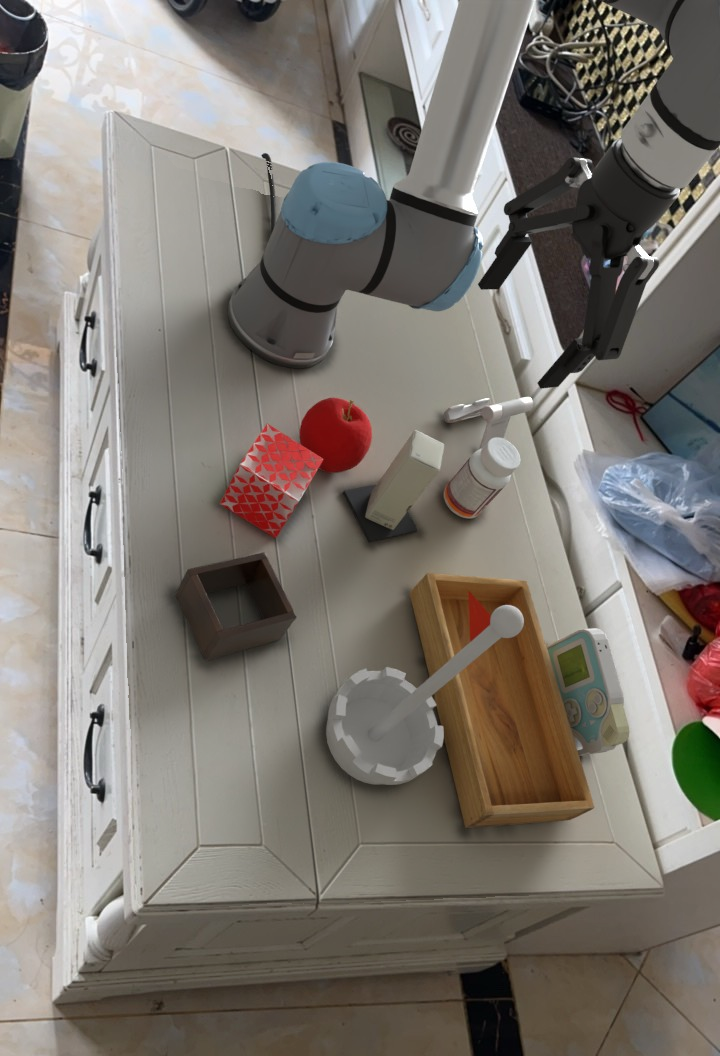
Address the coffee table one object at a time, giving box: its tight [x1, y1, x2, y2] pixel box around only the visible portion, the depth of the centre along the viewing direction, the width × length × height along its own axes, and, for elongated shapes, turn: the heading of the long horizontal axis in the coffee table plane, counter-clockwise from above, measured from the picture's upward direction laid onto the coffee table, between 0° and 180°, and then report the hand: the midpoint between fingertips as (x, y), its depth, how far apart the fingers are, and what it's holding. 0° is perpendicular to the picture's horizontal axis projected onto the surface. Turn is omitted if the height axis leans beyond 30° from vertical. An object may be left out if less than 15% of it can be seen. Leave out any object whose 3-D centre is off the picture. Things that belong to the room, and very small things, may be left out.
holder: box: [174, 551, 297, 662], centre depth 97 cm, size 9×10×6 cm
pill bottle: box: [443, 438, 521, 519], centre depth 120 cm, size 6×6×11 cm
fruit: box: [299, 397, 373, 474], centre depth 113 cm, size 9×9×10 cm
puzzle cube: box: [219, 423, 323, 539], centre depth 106 cm, size 8×8×8 cm
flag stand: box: [325, 590, 524, 786], centre depth 88 cm, size 13×13×30 cm
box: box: [365, 429, 445, 530], centre depth 111 cm, size 5×4×13 cm
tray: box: [409, 572, 596, 829], centre depth 107 cm, size 31×15×6 cm, turn 11°
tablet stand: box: [443, 396, 534, 449], centre depth 129 cm, size 9×8×8 cm
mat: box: [342, 484, 419, 544], centre depth 116 cm, size 8×8×1 cm
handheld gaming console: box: [546, 627, 630, 757], centre depth 111 cm, size 11×3×15 cm
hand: (517, 335), depth 95 cm, fingers open, 13 cm apart
